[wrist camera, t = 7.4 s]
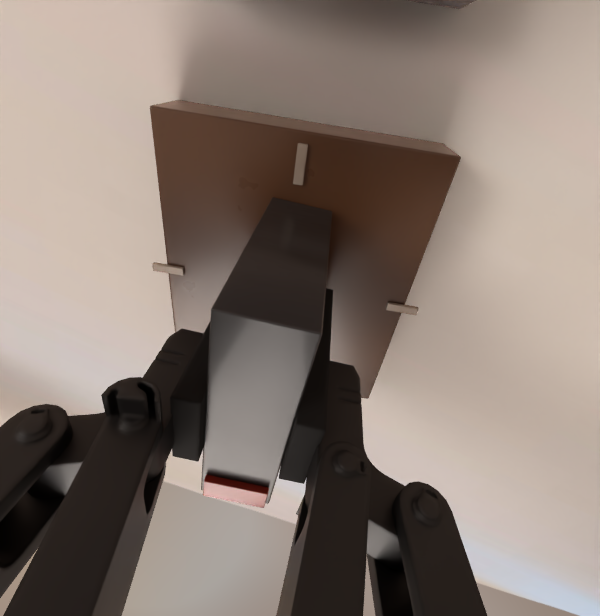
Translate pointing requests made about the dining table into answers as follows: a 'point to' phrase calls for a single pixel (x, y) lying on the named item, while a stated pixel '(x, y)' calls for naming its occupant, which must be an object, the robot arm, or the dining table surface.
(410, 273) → the dial panel
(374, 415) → the dining table surface
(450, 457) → the dining table surface
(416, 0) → the button box
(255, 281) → the red-cornered grey panel
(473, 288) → the dining table surface
